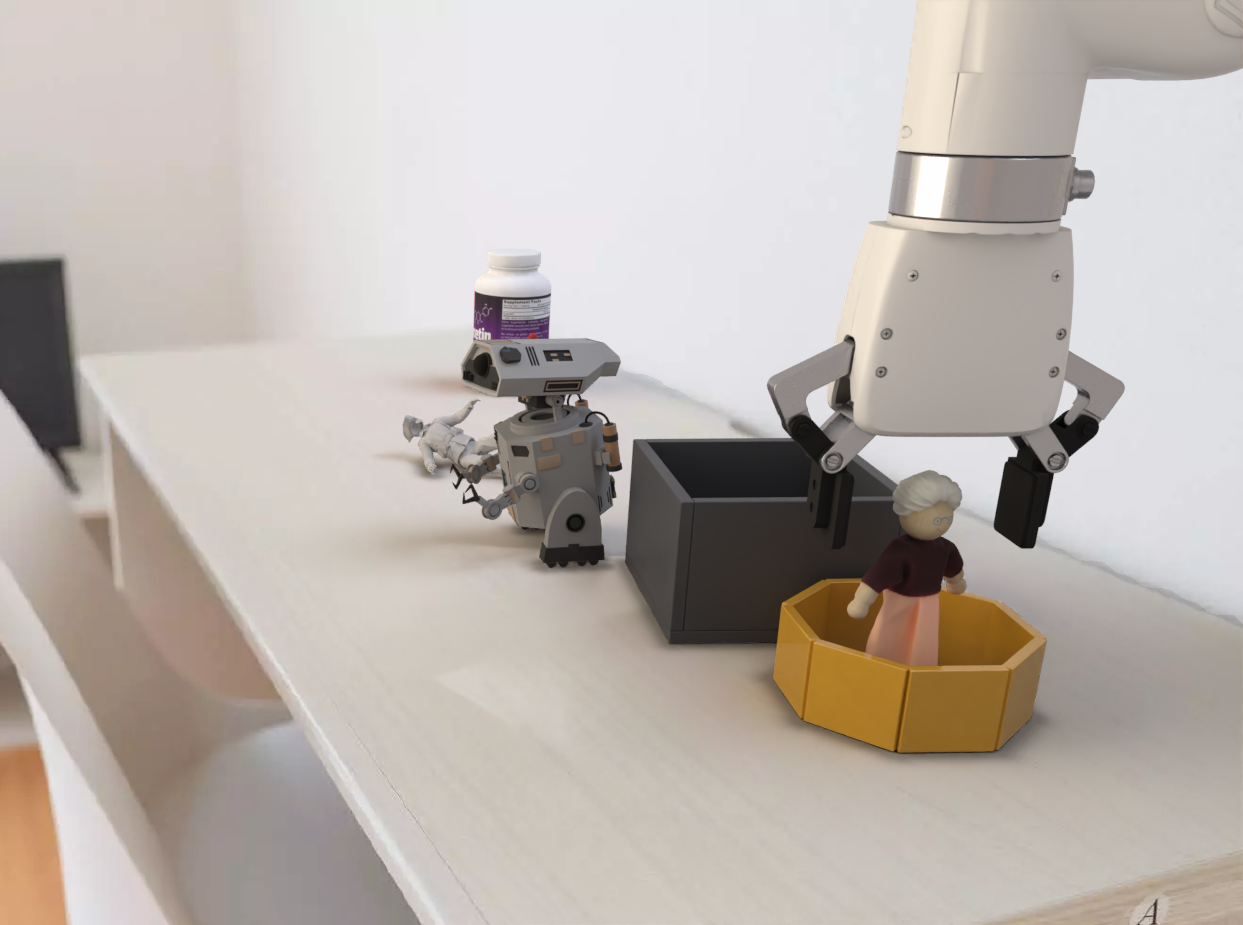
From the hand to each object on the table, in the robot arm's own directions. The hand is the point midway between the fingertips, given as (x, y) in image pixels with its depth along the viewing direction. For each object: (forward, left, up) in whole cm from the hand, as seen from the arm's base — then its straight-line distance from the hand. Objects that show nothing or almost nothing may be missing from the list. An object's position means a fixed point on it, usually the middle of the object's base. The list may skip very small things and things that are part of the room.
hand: (920, 540), depth 66 cm
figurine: (+17, -24, -9) cm, 31 cm away
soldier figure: (+20, -44, -9) cm, 49 cm away
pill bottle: (+13, -74, -9) cm, 76 cm away
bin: (+4, -14, -9) cm, 17 cm away
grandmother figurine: (0, 0, -9) cm, 9 cm away
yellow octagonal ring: (0, 0, -9) cm, 9 cm away
